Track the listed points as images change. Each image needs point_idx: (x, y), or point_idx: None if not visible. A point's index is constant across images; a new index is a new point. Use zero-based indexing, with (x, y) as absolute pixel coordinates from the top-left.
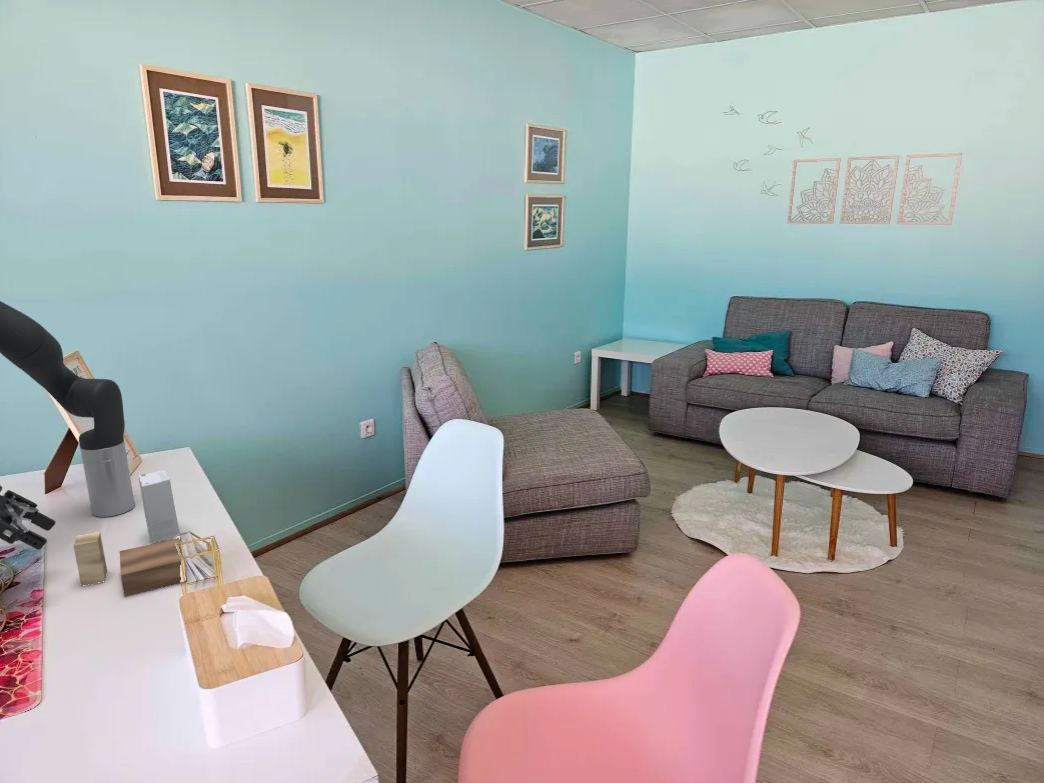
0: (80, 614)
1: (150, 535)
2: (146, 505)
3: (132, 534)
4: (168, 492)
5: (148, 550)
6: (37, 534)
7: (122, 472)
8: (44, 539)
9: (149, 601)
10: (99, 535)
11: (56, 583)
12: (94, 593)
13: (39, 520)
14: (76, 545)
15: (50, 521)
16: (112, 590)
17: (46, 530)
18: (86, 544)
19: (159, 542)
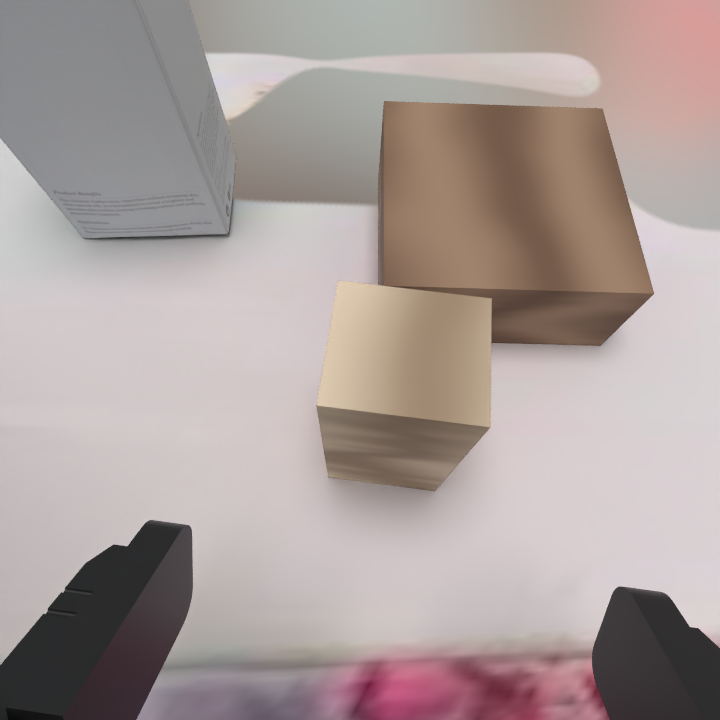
0: (690, 494)
1: (179, 209)
2: (159, 51)
3: (25, 290)
4: None
5: (445, 192)
6: (688, 686)
7: None
8: (673, 606)
9: (664, 279)
10: (380, 289)
11: (336, 602)
12: (524, 442)
13: (121, 692)
14: (488, 410)
15: (166, 563)
16: (527, 380)
17: (182, 621)
18: (487, 357)
19: (385, 155)
